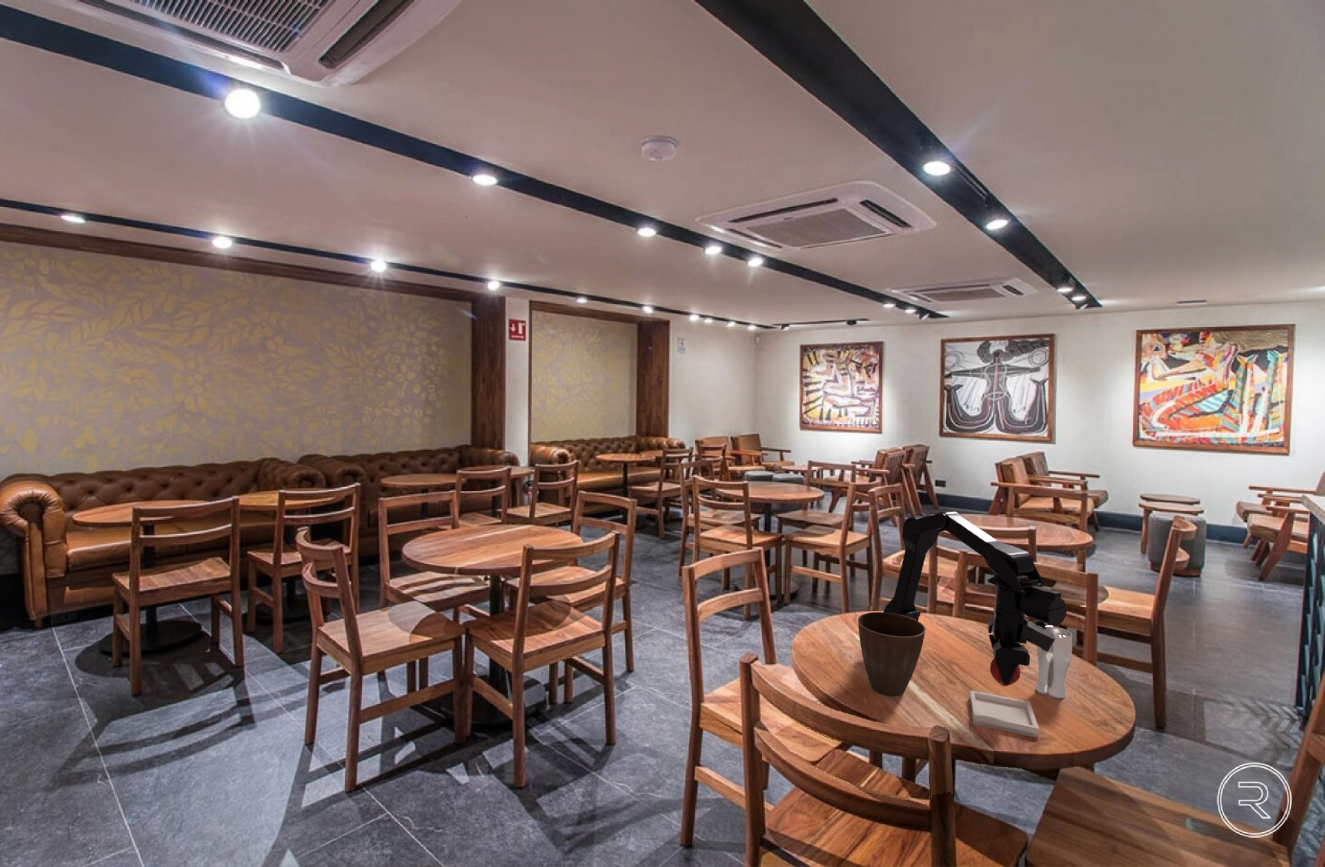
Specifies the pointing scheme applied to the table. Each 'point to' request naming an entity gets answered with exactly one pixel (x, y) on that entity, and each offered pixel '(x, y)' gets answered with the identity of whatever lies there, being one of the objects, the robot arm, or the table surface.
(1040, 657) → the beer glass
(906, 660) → the plant pot
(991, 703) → the dish
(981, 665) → the table surface
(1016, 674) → the onion
